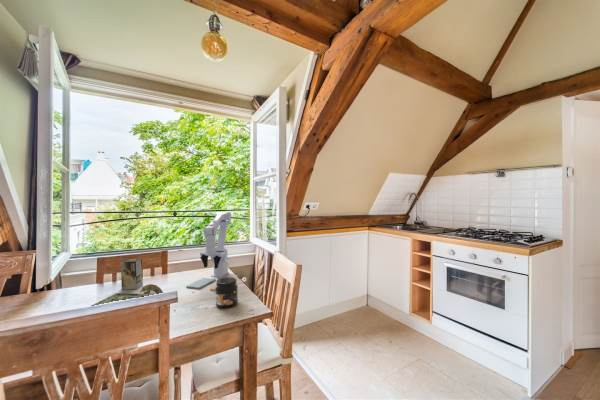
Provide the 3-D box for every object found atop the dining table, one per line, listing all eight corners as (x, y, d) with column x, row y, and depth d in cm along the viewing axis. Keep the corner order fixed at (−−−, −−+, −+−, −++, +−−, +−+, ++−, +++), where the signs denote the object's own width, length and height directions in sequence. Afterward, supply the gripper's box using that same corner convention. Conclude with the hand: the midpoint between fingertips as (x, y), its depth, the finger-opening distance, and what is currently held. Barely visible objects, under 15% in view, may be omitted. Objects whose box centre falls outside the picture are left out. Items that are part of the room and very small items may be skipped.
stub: (225, 281, 155) (225, 273, 155) (233, 282, 154) (233, 274, 154) (210, 290, 141) (209, 281, 141) (218, 291, 139) (218, 282, 139)
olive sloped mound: (172, 281, 136) (147, 296, 116) (172, 295, 136) (147, 313, 116) (116, 280, 139) (82, 295, 119) (116, 294, 139) (82, 311, 119)
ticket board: (203, 279, 160) (203, 277, 160) (215, 280, 158) (215, 278, 158) (186, 288, 146) (186, 285, 146) (199, 289, 143) (199, 287, 143)
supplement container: (213, 309, 118) (212, 284, 118) (218, 300, 128) (218, 277, 128) (235, 308, 119) (235, 283, 118) (239, 299, 129) (239, 276, 129)
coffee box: (143, 285, 152) (142, 258, 151) (136, 289, 145) (136, 261, 145) (128, 285, 151) (127, 259, 151) (120, 289, 145) (120, 261, 145)
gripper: (196, 246, 152) (196, 268, 153) (216, 247, 148) (217, 270, 148) (204, 244, 159) (204, 265, 159) (223, 245, 155) (224, 267, 155)
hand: (211, 267), depth 154 cm, fingers open, 7 cm apart
